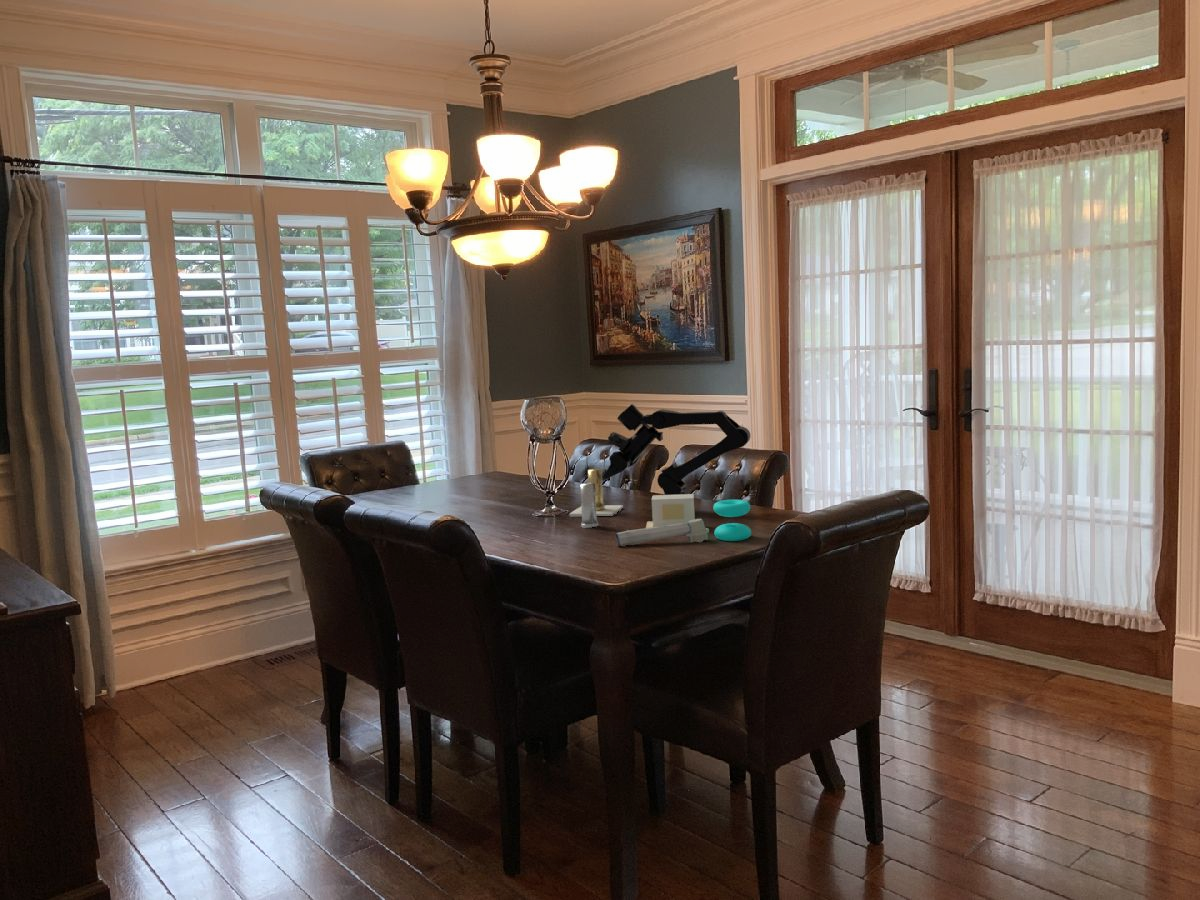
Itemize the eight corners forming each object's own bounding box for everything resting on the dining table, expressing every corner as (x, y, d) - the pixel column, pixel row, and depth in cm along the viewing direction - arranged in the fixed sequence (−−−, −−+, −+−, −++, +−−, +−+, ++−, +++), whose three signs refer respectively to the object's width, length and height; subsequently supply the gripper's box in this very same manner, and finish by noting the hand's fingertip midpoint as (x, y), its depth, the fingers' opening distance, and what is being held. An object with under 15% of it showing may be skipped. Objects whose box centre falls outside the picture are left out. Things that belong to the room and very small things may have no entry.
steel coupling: (602, 526, 286) (599, 483, 285) (589, 529, 283) (587, 485, 281) (590, 524, 290) (587, 481, 288) (577, 527, 286) (575, 484, 285)
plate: (623, 508, 313) (622, 505, 313) (612, 516, 300) (611, 513, 300) (582, 508, 317) (582, 505, 317) (569, 516, 303) (569, 513, 303)
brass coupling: (606, 510, 306) (604, 469, 305) (590, 511, 305) (588, 471, 304) (603, 507, 311) (600, 467, 310) (587, 508, 310) (585, 469, 309)
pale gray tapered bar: (614, 530, 260) (704, 512, 261) (619, 554, 261) (708, 536, 262) (615, 534, 255) (707, 516, 256) (620, 558, 256) (711, 540, 256)
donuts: (745, 505, 253) (708, 505, 256) (746, 542, 254) (710, 541, 258) (754, 498, 262) (718, 498, 266) (755, 534, 263) (719, 533, 267)
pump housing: (647, 524, 285) (646, 493, 284) (701, 522, 283) (700, 491, 282) (645, 532, 273) (644, 500, 272) (702, 530, 272) (700, 498, 271)
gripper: (629, 420, 311) (598, 454, 315) (614, 426, 293) (582, 462, 298) (653, 444, 310) (622, 478, 314) (640, 451, 292) (607, 487, 296)
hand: (608, 475), depth 306 cm, fingers open, 9 cm apart
